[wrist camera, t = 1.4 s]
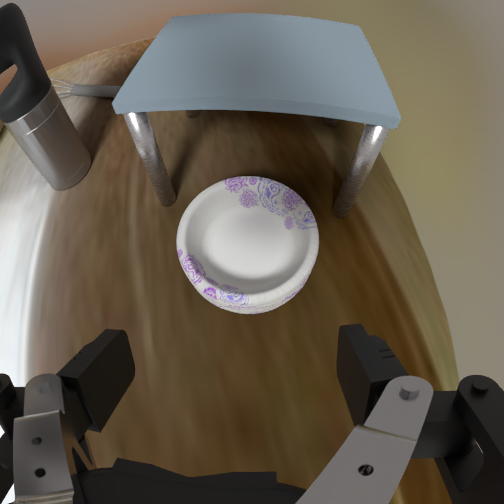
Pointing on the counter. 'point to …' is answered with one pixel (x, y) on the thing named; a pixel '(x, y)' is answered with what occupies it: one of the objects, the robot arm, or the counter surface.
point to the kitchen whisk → (92, 90)
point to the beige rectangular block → (1, 125)
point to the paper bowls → (248, 244)
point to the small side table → (260, 82)
